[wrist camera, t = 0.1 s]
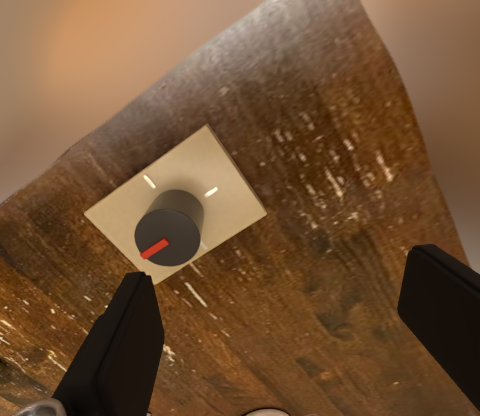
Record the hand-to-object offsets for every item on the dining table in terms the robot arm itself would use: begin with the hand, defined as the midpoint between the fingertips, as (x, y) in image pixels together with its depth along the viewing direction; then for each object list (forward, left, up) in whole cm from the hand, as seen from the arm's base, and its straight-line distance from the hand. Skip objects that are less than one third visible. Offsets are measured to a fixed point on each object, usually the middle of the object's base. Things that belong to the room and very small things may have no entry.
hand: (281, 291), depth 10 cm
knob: (+6, -3, -16) cm, 17 cm away
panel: (+6, -3, -19) cm, 20 cm away
